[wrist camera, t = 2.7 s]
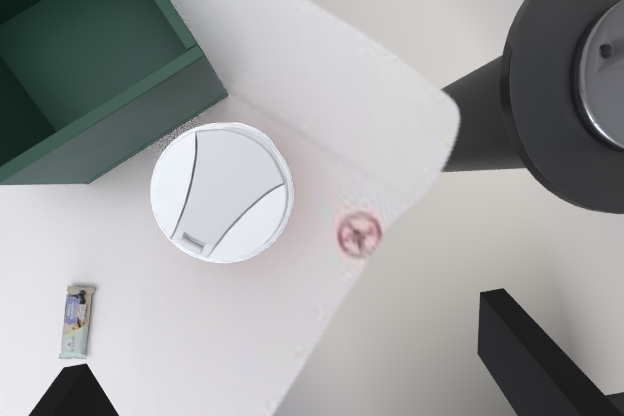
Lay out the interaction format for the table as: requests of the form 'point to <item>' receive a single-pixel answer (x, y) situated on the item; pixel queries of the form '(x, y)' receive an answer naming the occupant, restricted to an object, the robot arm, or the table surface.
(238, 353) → the table surface
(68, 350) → the granola bar
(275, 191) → the paper cup
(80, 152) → the open storage bin
